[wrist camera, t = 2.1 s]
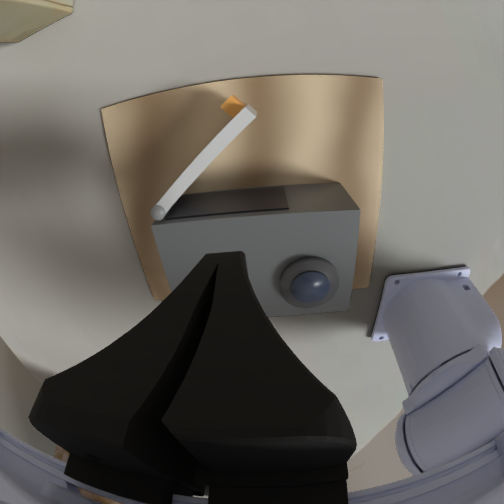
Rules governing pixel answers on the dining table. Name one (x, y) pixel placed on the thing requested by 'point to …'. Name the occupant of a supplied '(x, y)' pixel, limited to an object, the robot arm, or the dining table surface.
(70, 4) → the skincare box
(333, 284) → the camera body
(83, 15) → the dining table surface
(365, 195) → the wooden board
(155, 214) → the side door
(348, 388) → the dining table surface
